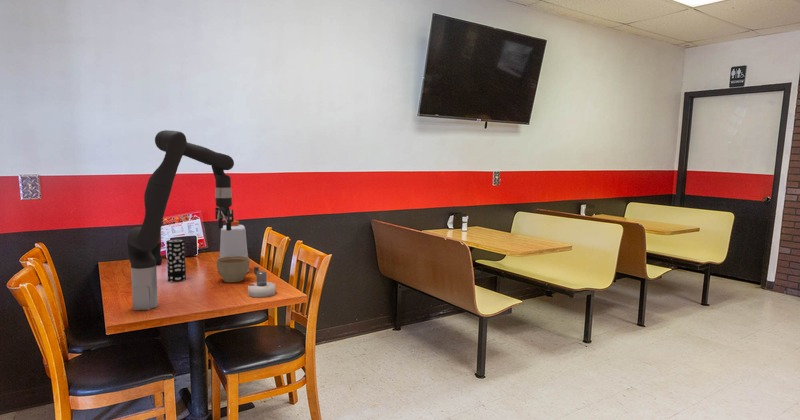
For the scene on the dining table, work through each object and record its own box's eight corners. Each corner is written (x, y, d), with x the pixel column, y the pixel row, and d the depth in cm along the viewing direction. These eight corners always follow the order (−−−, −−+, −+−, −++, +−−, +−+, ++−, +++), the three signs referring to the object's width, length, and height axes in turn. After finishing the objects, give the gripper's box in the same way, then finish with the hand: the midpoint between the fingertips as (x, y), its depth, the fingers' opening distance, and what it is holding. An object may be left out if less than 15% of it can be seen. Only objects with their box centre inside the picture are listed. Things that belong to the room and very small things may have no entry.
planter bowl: (215, 285, 231) (214, 263, 230) (218, 277, 247) (217, 256, 245) (249, 283, 235) (249, 262, 234) (250, 275, 251) (250, 255, 250)
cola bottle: (146, 264, 271) (143, 212, 268) (162, 262, 275) (160, 211, 272) (145, 267, 264) (142, 213, 260) (162, 266, 267) (160, 213, 264)
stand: (273, 297, 214) (273, 287, 214) (246, 297, 212) (246, 287, 212) (276, 289, 226) (276, 280, 226) (250, 290, 224) (250, 280, 224)
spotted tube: (178, 282, 235) (177, 242, 232) (164, 281, 236) (162, 241, 234) (189, 278, 243) (188, 239, 241) (175, 277, 244) (173, 239, 242)
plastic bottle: (249, 274, 254) (248, 222, 251) (219, 276, 248) (218, 223, 245) (247, 267, 268) (246, 218, 265) (218, 269, 262) (217, 219, 259)
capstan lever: (267, 285, 218) (267, 273, 217) (257, 286, 216) (257, 274, 215) (260, 278, 230) (260, 266, 230) (251, 279, 228) (251, 267, 228)
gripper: (238, 197, 229) (238, 230, 231) (224, 195, 239) (225, 226, 241) (223, 198, 224) (224, 232, 226) (209, 195, 233) (210, 228, 235)
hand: (224, 229), depth 233 cm, fingers open, 8 cm apart
